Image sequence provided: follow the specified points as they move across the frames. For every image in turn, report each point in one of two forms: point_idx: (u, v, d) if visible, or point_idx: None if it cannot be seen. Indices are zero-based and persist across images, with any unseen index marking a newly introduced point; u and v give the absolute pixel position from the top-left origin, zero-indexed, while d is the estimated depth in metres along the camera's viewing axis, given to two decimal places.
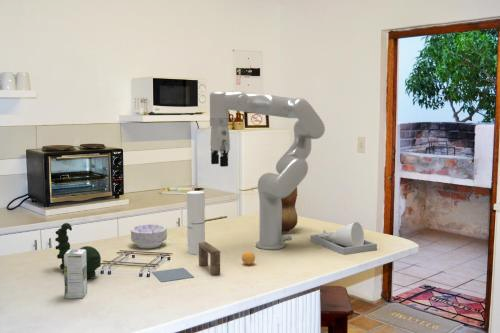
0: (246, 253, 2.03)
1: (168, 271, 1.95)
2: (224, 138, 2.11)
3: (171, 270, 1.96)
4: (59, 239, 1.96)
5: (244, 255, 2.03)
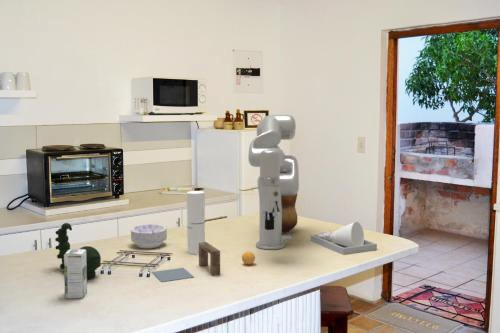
0: (246, 253, 2.03)
1: (168, 271, 1.95)
2: (276, 199, 2.01)
3: (171, 270, 1.96)
4: (59, 239, 1.96)
5: (244, 255, 2.03)
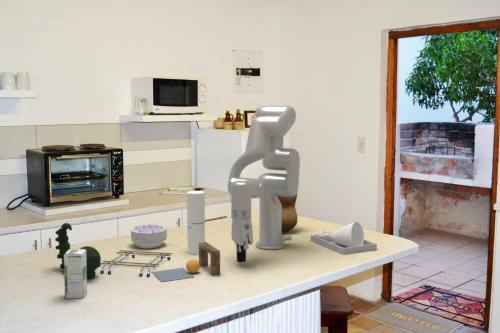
0: (192, 272, 1.94)
1: (168, 271, 1.95)
2: (247, 232, 1.98)
3: (171, 270, 1.96)
4: (59, 239, 1.96)
5: None
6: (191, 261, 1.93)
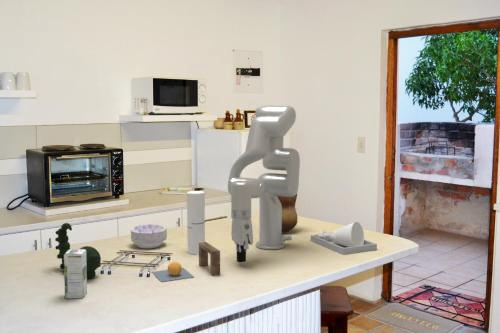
0: (178, 263, 1.91)
1: None
2: (247, 232, 1.98)
3: None
4: (59, 239, 1.96)
5: (175, 262, 1.90)
6: (176, 275, 1.90)
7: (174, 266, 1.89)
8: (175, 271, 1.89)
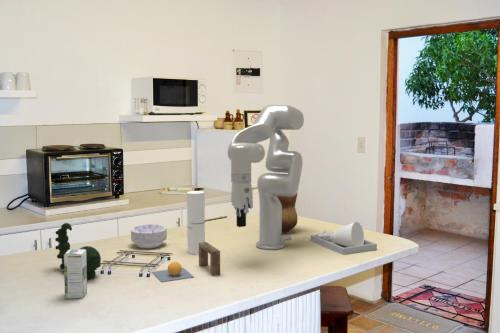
0: (178, 263, 1.91)
1: None
2: (247, 195, 1.96)
3: None
4: (59, 239, 1.96)
5: (175, 262, 1.90)
6: (176, 275, 1.90)
7: (174, 266, 1.89)
8: (175, 271, 1.89)
